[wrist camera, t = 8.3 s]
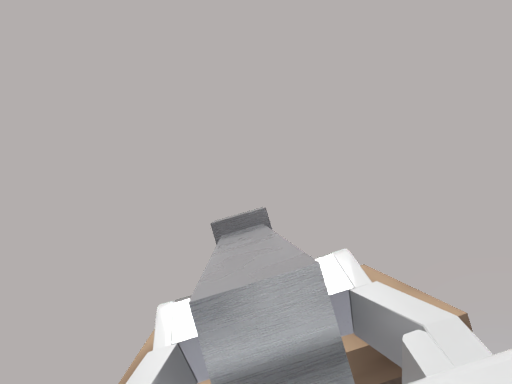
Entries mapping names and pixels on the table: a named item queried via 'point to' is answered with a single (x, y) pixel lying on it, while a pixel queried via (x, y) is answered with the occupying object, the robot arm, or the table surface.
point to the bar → (265, 310)
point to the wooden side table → (354, 341)
